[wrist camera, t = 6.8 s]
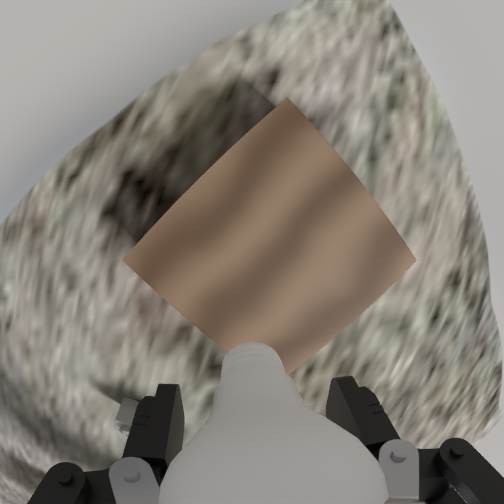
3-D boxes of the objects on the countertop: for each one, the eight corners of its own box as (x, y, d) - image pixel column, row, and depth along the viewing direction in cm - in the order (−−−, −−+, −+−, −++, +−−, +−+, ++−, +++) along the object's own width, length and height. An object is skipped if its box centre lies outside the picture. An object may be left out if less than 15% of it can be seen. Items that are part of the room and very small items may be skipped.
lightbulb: (303, 403, 15) (364, 596, 5) (183, 400, 14) (165, 611, 4) (327, 297, 13) (475, 524, 3) (182, 289, 13) (116, 576, 2)
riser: (392, 245, 31) (416, 260, 26) (266, 358, 34) (272, 386, 29) (276, 108, 27) (287, 97, 22) (138, 244, 29) (122, 260, 24)
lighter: (122, 405, 34) (106, 450, 27) (123, 396, 34) (107, 442, 26) (175, 421, 36) (168, 469, 28) (178, 413, 35) (171, 461, 27)
